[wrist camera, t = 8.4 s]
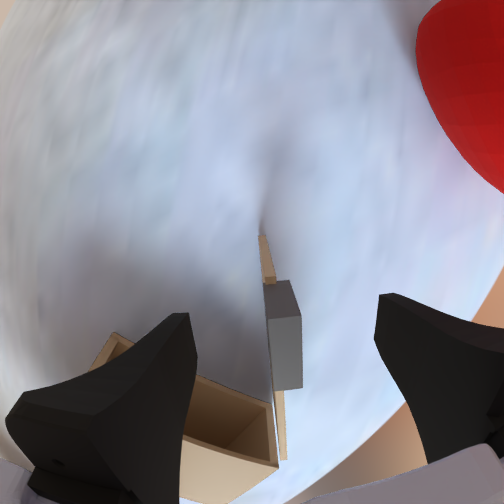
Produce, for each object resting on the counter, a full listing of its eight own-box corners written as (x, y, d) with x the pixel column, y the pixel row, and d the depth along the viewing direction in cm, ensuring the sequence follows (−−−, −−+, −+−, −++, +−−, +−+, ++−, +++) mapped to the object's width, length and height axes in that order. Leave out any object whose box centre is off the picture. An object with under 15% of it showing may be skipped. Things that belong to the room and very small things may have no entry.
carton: (223, 453, 23) (220, 507, 17) (90, 396, 21) (64, 447, 15) (272, 404, 21) (278, 468, 15) (113, 331, 19) (77, 389, 13)
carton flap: (271, 397, 20) (282, 494, 12) (256, 236, 17) (266, 310, 9) (285, 395, 20) (300, 491, 12) (274, 234, 17) (300, 306, 9)
